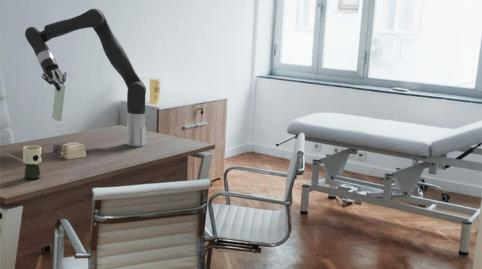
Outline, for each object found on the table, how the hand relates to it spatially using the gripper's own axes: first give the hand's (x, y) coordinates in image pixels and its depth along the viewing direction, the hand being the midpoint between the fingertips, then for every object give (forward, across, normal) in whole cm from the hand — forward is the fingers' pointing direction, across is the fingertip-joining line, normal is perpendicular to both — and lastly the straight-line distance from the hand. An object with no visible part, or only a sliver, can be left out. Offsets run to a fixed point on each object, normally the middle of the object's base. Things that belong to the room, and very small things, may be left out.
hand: (61, 89), depth 284 cm
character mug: (+45, -36, -3) cm, 58 cm away
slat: (+8, 0, +14) cm, 16 cm away
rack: (+30, -5, +13) cm, 33 cm away
